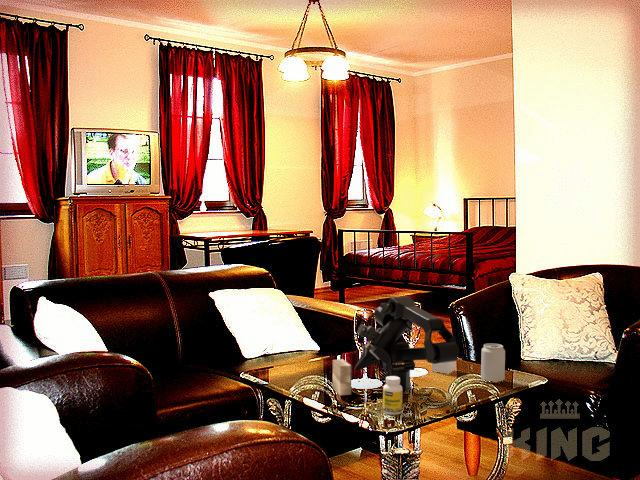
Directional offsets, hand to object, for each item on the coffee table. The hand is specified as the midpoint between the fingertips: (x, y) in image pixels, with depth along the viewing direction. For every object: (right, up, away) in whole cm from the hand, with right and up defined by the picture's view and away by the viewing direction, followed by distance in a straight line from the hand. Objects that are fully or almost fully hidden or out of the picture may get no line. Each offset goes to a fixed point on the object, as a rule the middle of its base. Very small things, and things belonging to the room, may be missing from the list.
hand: (355, 369), depth 213 cm
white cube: (+31, -5, +24) cm, 40 cm away
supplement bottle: (+9, -8, -20) cm, 24 cm away
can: (+45, -6, +11) cm, 47 cm away
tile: (-4, -7, 0) cm, 8 cm away
